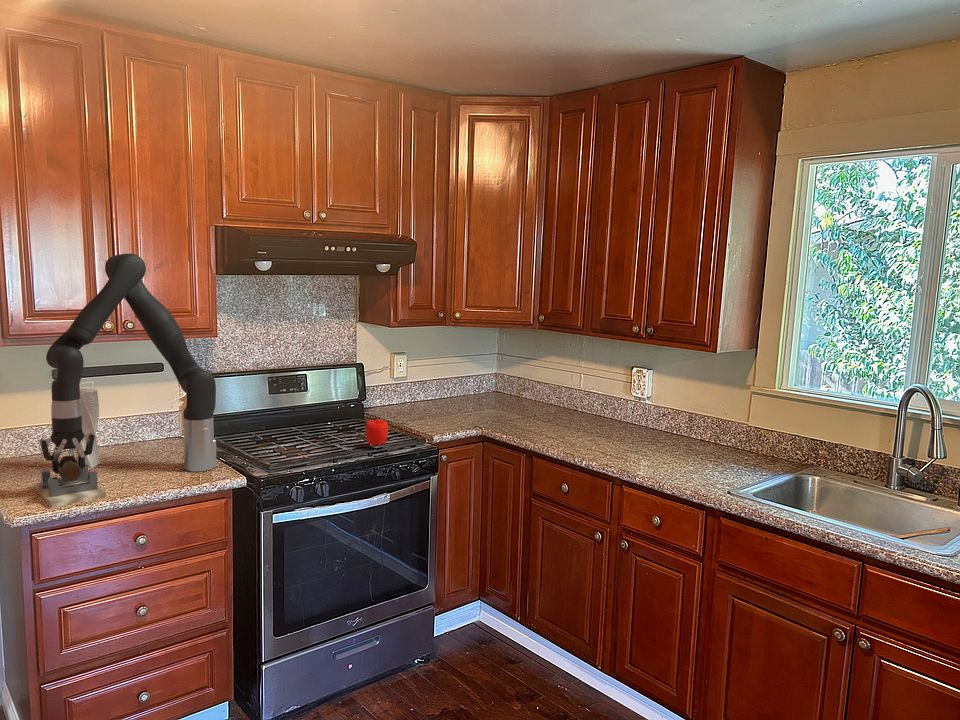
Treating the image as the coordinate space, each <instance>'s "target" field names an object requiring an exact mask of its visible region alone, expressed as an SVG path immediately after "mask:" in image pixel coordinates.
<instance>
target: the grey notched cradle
mask: <svg viewBox="0 0 960 720" xmlns="http://www.w3.org/2000/svg"><path fill="white" fill-rule="evenodd" d="M40 480H41V481H40V483H41V487H42V488H43V489H45V488H49V496H50V497H55V496H61V495H67V494H73V493H78V492H84V491H90V490H96V489H98V486H99V485H98V472H97V471H96V470H91V471H90V470H88V465H87V464H85V467H84V468H83V470H82V473H81V475H80V476H79V478H78V479H77V480H75V481H68V482H65V481H64V480H63V479H62V478H61V476H59V477H56V476H54V477H51V470H50V469H49V468H47V469H42V470H40ZM81 482H85V483H81ZM75 483H79V484H75ZM69 484H73V485H69ZM63 485H67V486H63ZM58 486H61V487H58Z"/></svg>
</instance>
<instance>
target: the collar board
mask: <svg viewBox="0 0 960 720" xmlns="http://www.w3.org/2000/svg"><path fill="white" fill-rule="evenodd" d="M81 483H85V482H81ZM75 484H79V483H75ZM69 485H73V484H69ZM63 486H67V485H63ZM58 487H61V486H58ZM33 489H34V490H35V491H36V493H38V495H39V496H40V497H41V498H42V500H43V501H44V500H45V501H44V502H45V503H46V504H47V505H48V506H49V508H55V507H63V506H69V505H72V504H73V503H74V504H78V502H79V503H83V501H85V502H89V501H88V500H90V501H93V500H92V499H96V500H99V499H98V498H101V499H103V498H102V497H106V498H107V492H106V491H105V490H104V489H103V488H101V487H100V486H99V485H98V489H96V490H90V491H84V492H78V493H73V494H67V495H61V496H55V497H50V496H49V488H45V489H43V488H42V487H41V482H36V483H33Z"/></svg>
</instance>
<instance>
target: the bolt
mask: <svg viewBox="0 0 960 720" xmlns="http://www.w3.org/2000/svg"><path fill="white" fill-rule="evenodd" d="M58 473H59V474H58V475H59V477H61V478H62V479H63V480H64V481H65V482H68V481H75V480H77V479H78V478H79V476H80V475H81V473H82V469H81V468H80V467H79V465H78V462H77V458H75V456H74V457H73V456H69V455H65V456H62V457H61V459H60V460H59V472H58Z"/></svg>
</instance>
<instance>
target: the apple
mask: <svg viewBox="0 0 960 720" xmlns="http://www.w3.org/2000/svg"><path fill="white" fill-rule="evenodd" d="M364 430H365V431H364V432H365V438H366V441H367V444H368V445H369V444H371V445H381V444H385V445H386V443H387V440H388V435H389V423H388V422H386V420H383V419H374V420H373V419H372V420H369V421H368V422H366V425H365V429H364Z"/></svg>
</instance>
